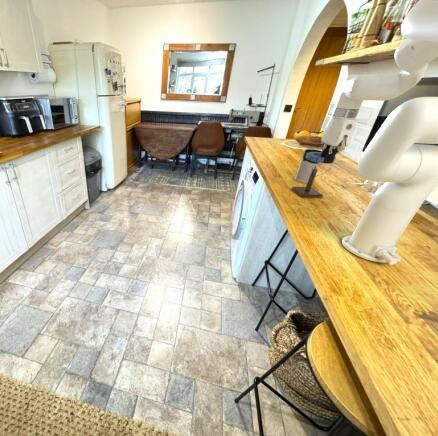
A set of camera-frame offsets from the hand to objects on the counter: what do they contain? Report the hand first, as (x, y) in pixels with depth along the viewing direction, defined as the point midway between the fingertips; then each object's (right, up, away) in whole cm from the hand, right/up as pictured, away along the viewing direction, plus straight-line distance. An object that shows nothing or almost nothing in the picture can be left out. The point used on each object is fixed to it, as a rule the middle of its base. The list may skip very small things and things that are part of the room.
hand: (325, 161), depth 98 cm
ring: (0, +2, +3) cm, 4 cm away
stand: (0, -12, +12) cm, 17 cm away
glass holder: (+10, -4, +25) cm, 27 cm away
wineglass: (+23, -6, +17) cm, 29 cm away
